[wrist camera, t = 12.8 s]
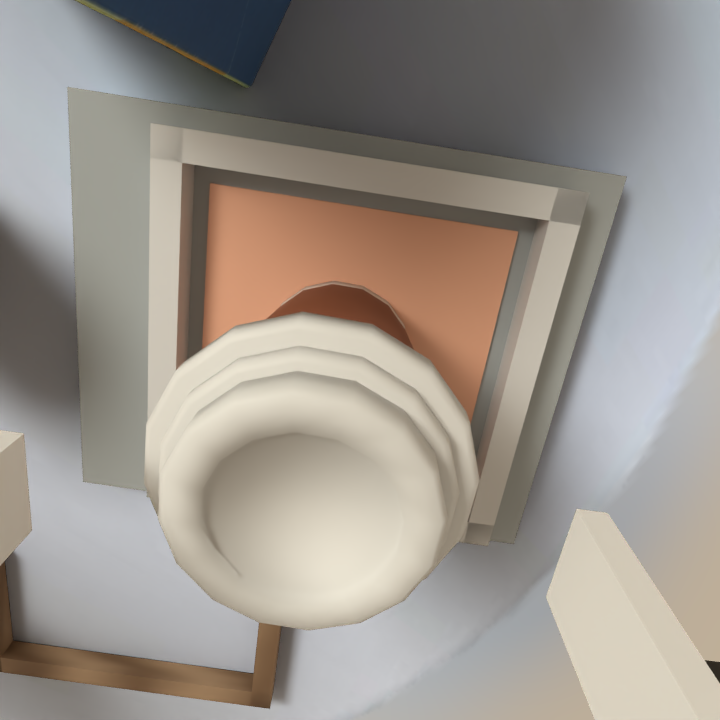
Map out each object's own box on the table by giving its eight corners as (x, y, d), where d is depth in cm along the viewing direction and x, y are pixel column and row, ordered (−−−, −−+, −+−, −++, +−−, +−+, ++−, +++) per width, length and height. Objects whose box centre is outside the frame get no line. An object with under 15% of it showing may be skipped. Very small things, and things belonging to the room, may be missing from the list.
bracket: (-5, 652, 34) (-18, 669, 33) (-19, 539, 31) (-34, 554, 30) (273, 690, 34) (269, 708, 33) (287, 582, 31) (283, 598, 30)
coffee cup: (392, 467, 26) (403, 702, 15) (211, 403, 25) (77, 602, 14) (474, 296, 23) (564, 431, 12) (271, 215, 22) (161, 279, 11)
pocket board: (97, 465, 29) (67, 499, 26) (86, 90, 22) (45, 82, 20) (507, 525, 29) (520, 564, 26) (611, 175, 23) (644, 178, 20)
